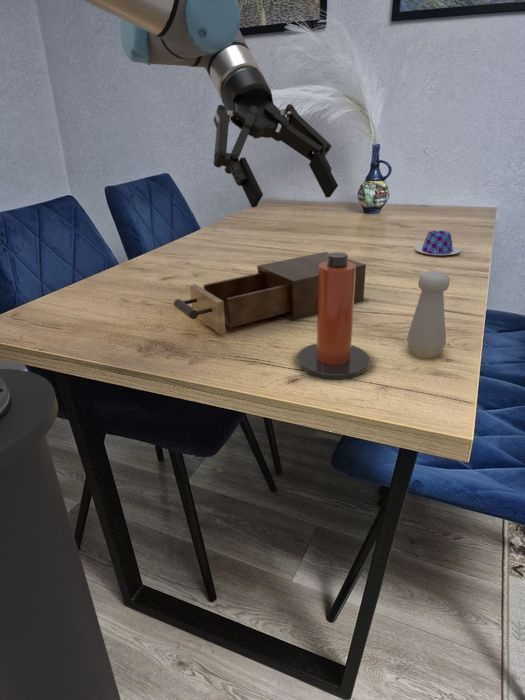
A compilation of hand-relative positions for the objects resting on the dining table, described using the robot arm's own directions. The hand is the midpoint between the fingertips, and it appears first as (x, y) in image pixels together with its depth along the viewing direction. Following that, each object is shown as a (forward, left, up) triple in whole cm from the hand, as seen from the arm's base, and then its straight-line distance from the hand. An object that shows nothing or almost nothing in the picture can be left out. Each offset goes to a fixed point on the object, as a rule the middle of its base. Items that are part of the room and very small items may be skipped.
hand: (296, 196), depth 70 cm
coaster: (+8, -5, -24) cm, 26 cm away
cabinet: (-5, +19, -24) cm, 31 cm away
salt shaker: (+20, +4, -24) cm, 32 cm away
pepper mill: (+8, -5, -23) cm, 25 cm away
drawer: (-14, +3, -23) cm, 27 cm away
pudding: (+11, +68, -24) cm, 73 cm away
